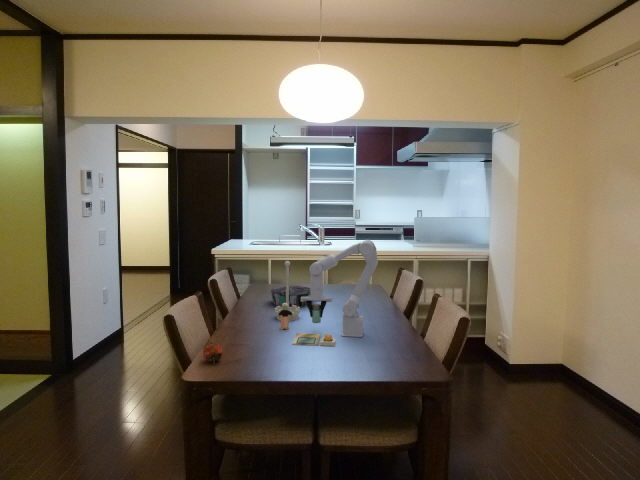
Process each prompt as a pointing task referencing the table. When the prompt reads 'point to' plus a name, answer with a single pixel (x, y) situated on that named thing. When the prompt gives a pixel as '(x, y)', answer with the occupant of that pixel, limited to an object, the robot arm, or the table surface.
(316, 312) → the green grey cylinder
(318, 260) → the robot arm
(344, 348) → the table surface
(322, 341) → the button housing
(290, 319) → the flag stand
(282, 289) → the decorative bowl
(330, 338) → the button
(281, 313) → the grandmother figurine
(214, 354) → the pomegranate
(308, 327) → the table surface
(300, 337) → the picture board
